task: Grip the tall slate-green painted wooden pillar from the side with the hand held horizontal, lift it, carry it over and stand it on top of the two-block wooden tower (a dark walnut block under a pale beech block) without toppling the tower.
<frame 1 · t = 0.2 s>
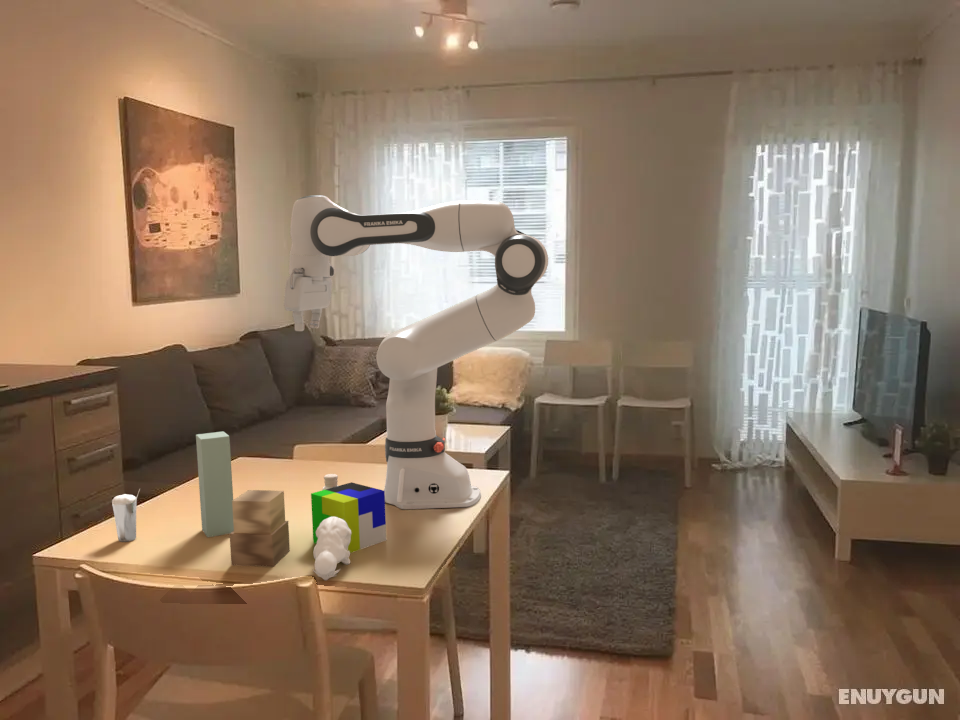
hand: (307, 329, 188), 39 cm above the table, tool pointing down, fingers open, 8 cm apart
white animal figurine: (330, 571, 147), on the table
tower top: (260, 527, 153), point 6 cm above the table, touching tower bottom
pepper shaker: (333, 528, 170), on the table
milkshake: (129, 540, 166), on the table
tower bottom: (261, 558, 154), on the table, touching tower top
puzzle toy: (350, 542, 161), on the table
pillar: (218, 531, 169), on the table
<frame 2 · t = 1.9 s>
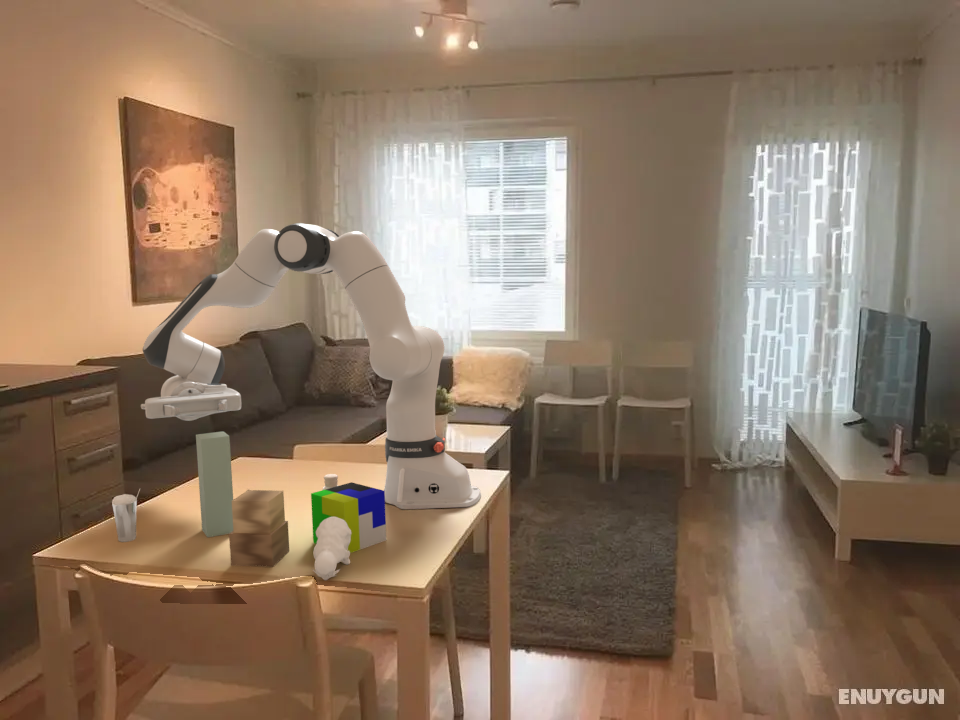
hand: (199, 409, 177), 23 cm above the table, tool horizontal, fingers open, 8 cm apart
nothing on the table moved.
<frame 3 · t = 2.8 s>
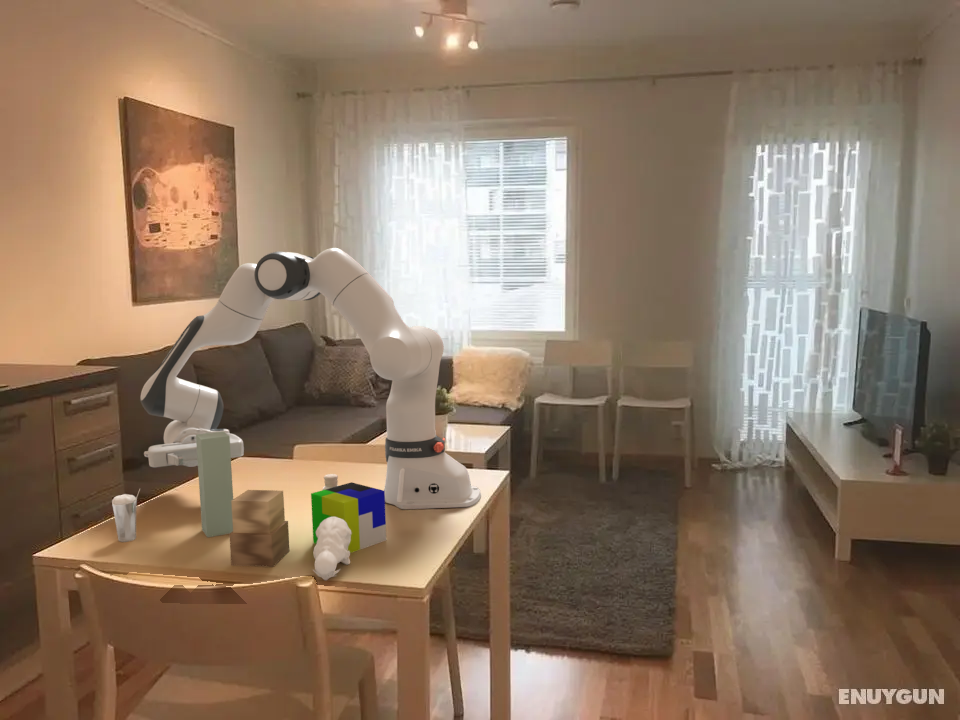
hand: (202, 458, 178), 13 cm above the table, tool horizontal, fingers open, 8 cm apart
nothing on the table moved.
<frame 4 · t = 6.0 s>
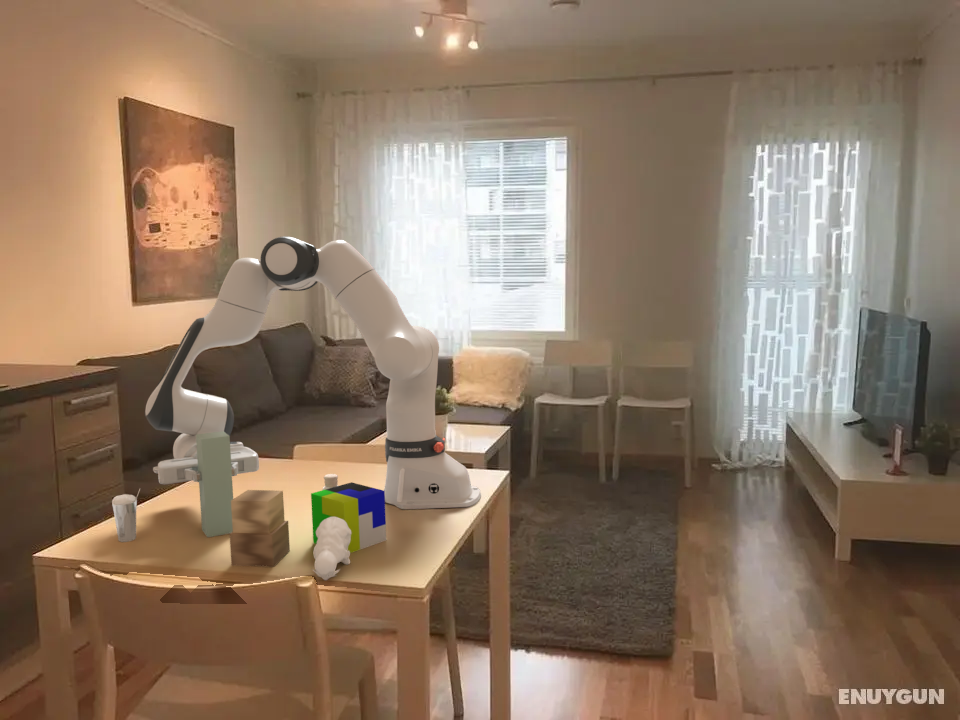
hand: (215, 474, 167), 12 cm above the table, tool horizontal, fingers closed on pillar, 5 cm apart
pillar: (218, 531, 169), on the table, touching gripper
everything else where it was.
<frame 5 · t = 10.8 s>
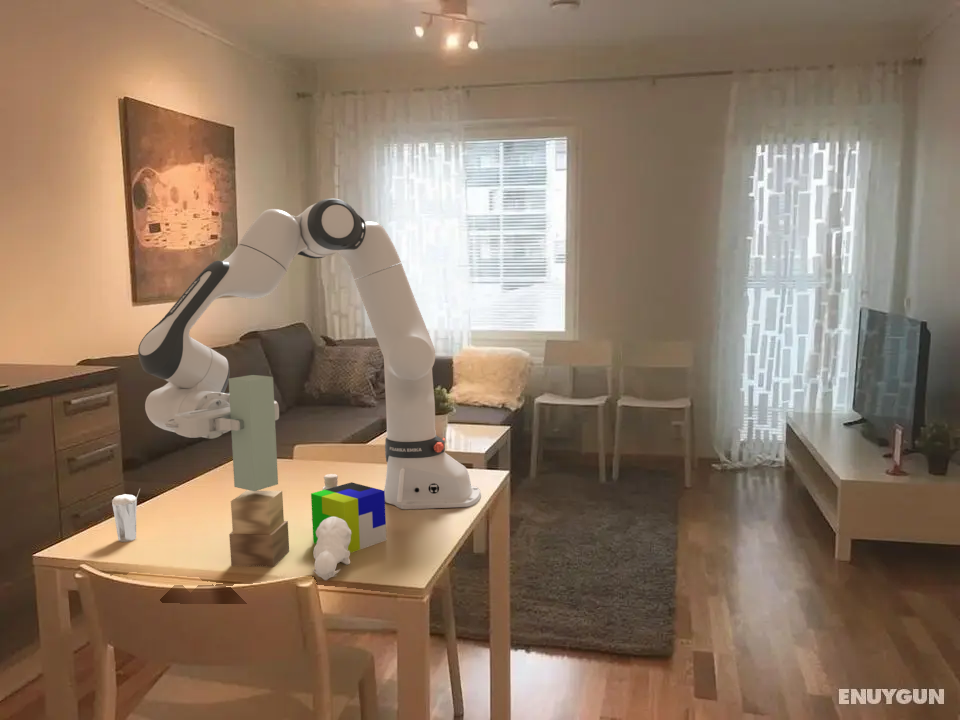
hand: (256, 421, 150), 26 cm above the table, tool horizontal, fingers closed on pillar, 5 cm apart
tower top: (258, 527, 153), point 6 cm above the table
tower bottom: (260, 558, 153), on the table
pillar: (256, 485, 152), point 14 cm above the table, touching gripper
everything else where it was.
when the fingers open (25 cm above the table, at t = 11.2 s): pillar drops 2 cm, point 12 cm above the table.
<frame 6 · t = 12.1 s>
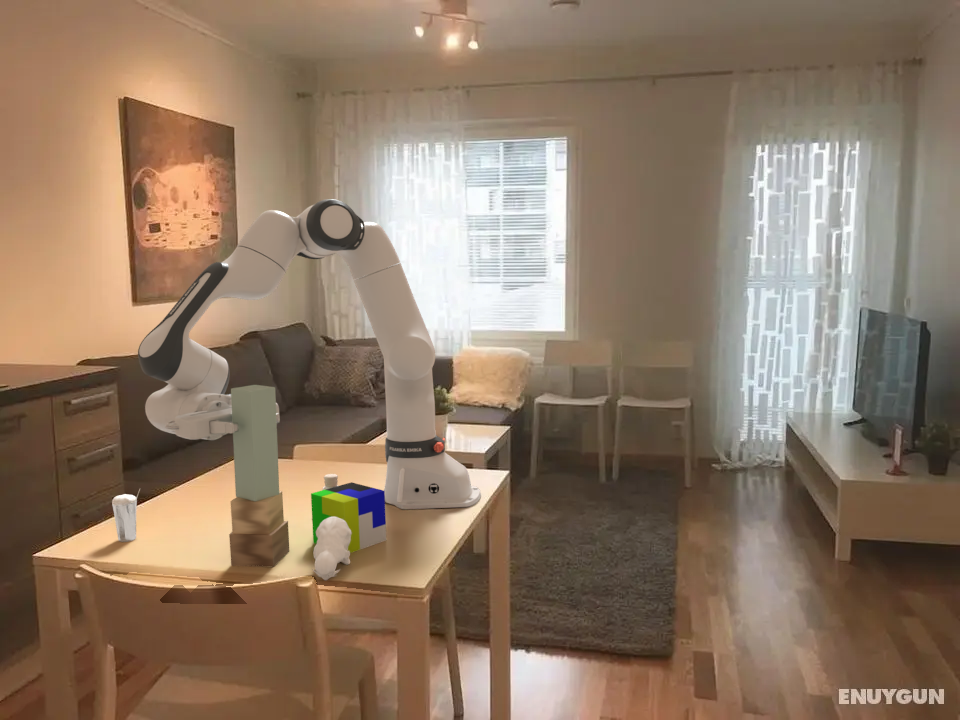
hand: (256, 423, 150), 25 cm above the table, tool horizontal, fingers open, 8 cm apart
tower top: (258, 527, 153), point 6 cm above the table, touching tower bottom
tower bottom: (261, 558, 153), on the table, touching tower top
pillar: (257, 495, 152), point 12 cm above the table
everything else where it was.
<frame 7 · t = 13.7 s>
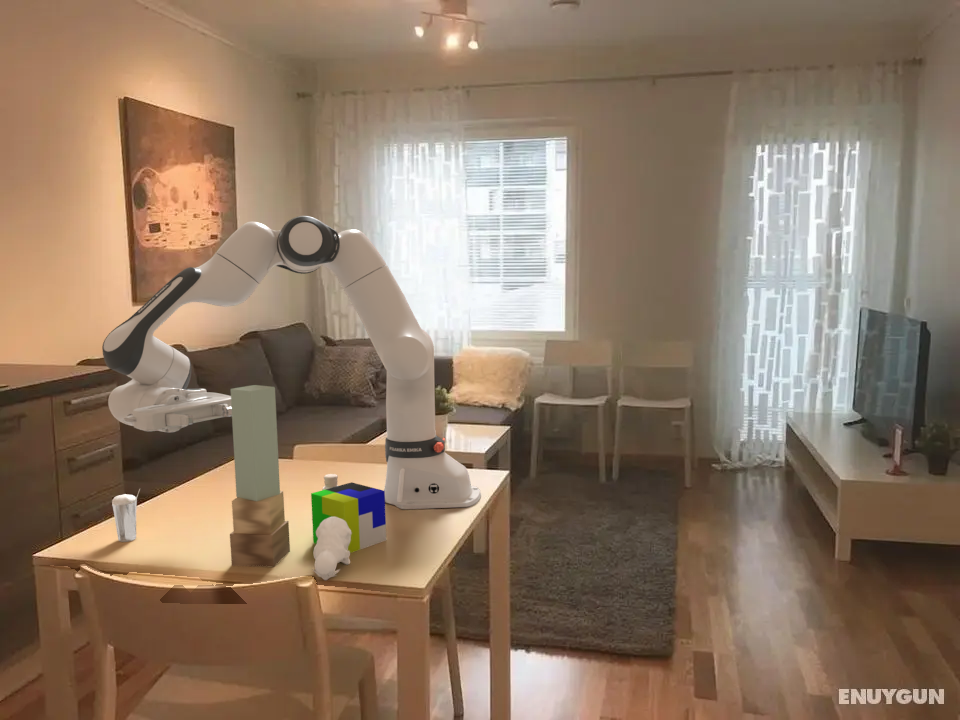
hand: (211, 416, 157), 26 cm above the table, tool horizontal, fingers open, 8 cm apart
tower top: (259, 527, 153), point 6 cm above the table, touching pillar, tower bottom
pillar: (258, 495, 152), point 12 cm above the table, touching tower top
everything else where it was.
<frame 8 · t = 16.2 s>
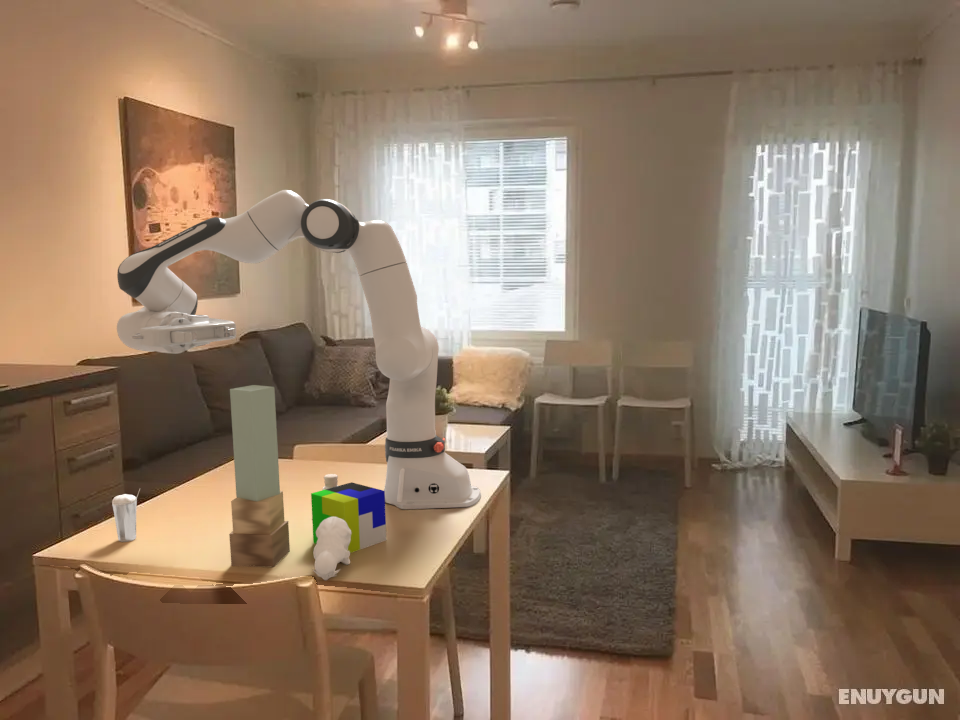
hand: (213, 334, 168), 40 cm above the table, tool horizontal, fingers open, 8 cm apart
nothing on the table moved.
at the end: pillar inside the target area on the tower top (0.2 cm from its centre), point 6.0 cm above the tower top's base; pillar tilted 0°; tower top 0.1 cm off-centre on the tower bottom, point 6.0 cm above the tower bottom's base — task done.
